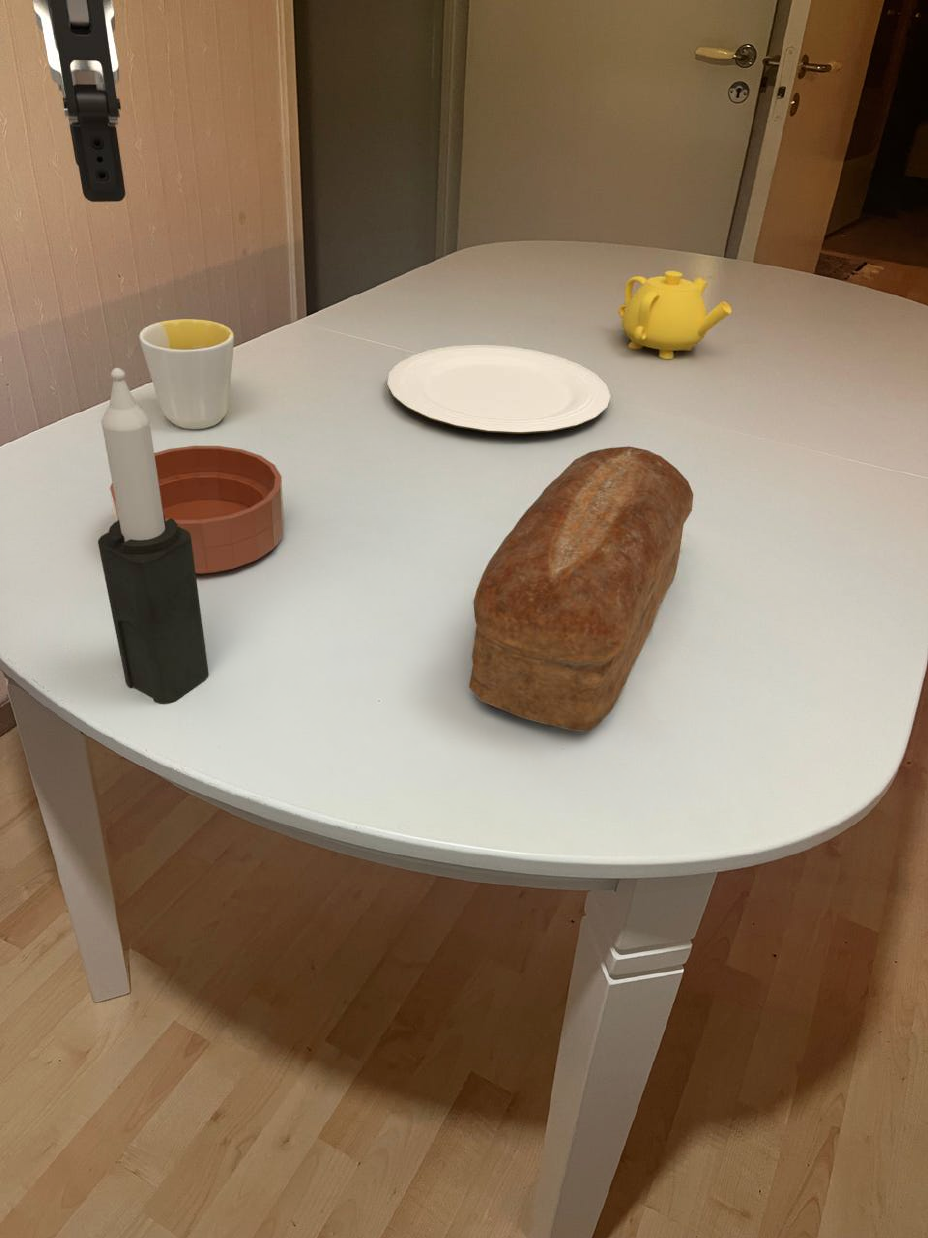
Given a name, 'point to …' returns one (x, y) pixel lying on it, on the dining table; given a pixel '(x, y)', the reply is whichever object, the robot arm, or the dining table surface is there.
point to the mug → (190, 369)
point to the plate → (498, 389)
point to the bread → (579, 588)
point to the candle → (148, 564)
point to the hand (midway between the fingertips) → (100, 183)
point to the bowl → (221, 503)
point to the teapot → (668, 313)
